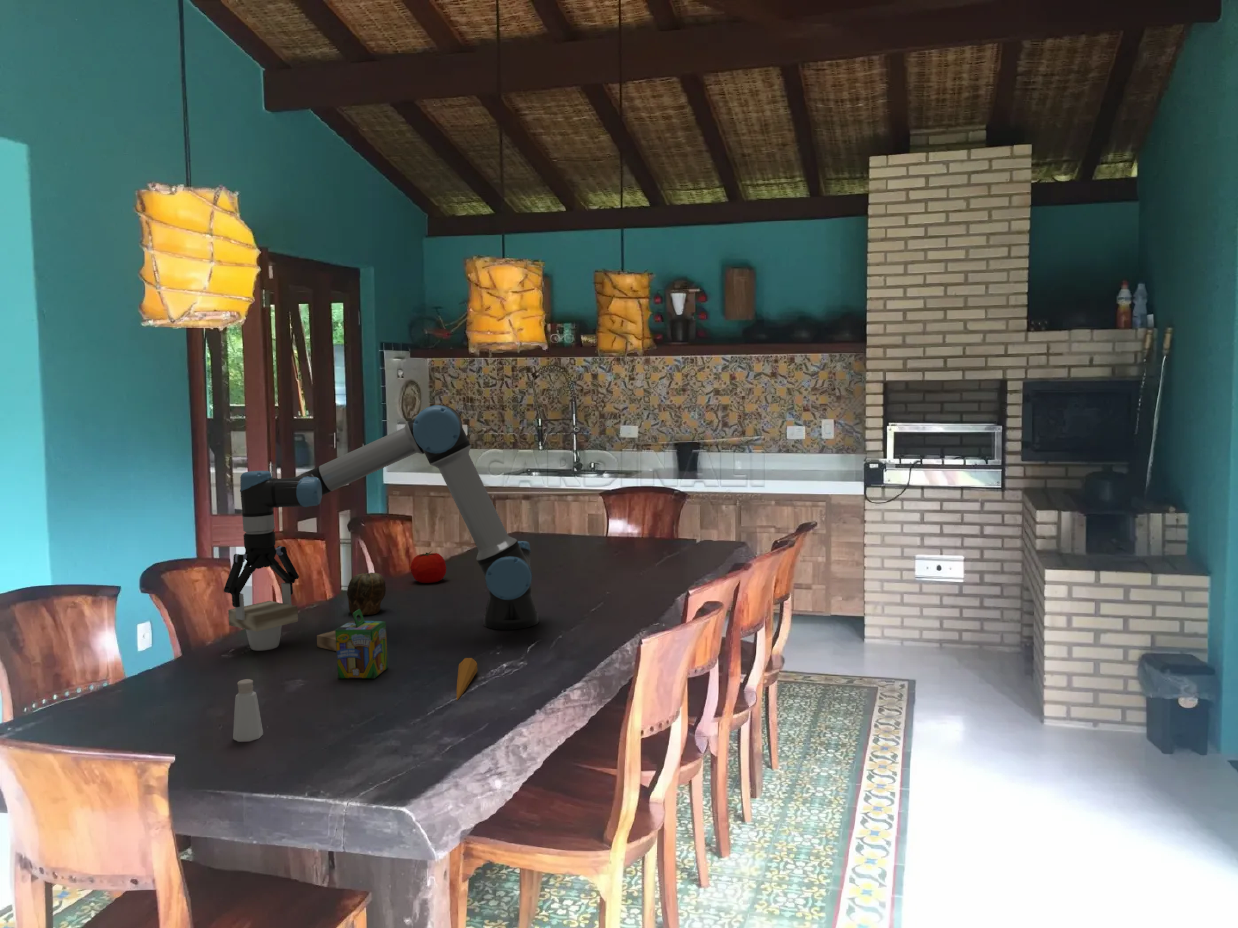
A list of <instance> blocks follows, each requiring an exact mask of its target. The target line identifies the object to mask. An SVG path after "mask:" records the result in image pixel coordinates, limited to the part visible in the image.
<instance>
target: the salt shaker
mask: <svg viewBox="0 0 1238 928" xmlns="http://www.w3.org/2000/svg"><path fill="white" fill-rule="evenodd" d="M236 684H237V690H238V693H237V694H236V695H235V699H234V715H233V716H234V717H233V732H232V733H233V735H232V736H233V737H232V739H233V740H234V741H236V742H238V743H240V742H241V743H243V742H253V741H255V740H259V739H261V737H262V736H263V735H264V730H263V725H262V719H261V713H260V706H259V700H258V695H257V692H256V691H254V685H253V684H254V680H253V679H250V678H246V679H241V680H239V681H238V682H237V683H236Z"/></svg>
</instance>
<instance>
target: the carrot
mask: <svg viewBox="0 0 1238 928" xmlns="http://www.w3.org/2000/svg"><path fill="white" fill-rule="evenodd" d="M457 669H458V671H457V681H456V701H458V700H459V699H460V698H461V697H462V696H463V694H464V693H465V692H466V690H467V688H468V686H469V685H470V683H471V682H472V681H473V679H474V677H475V676H476V674H477V673H478V663H477V661H476V660H475V659H474V658H473V657H465V658H463V660H462V661H461V662H459V664H458V668H457Z"/></svg>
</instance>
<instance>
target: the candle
mask: <svg viewBox="0 0 1238 928" xmlns="http://www.w3.org/2000/svg"><path fill="white" fill-rule="evenodd" d="M282 626H283V625H282ZM282 626H278V627H274V628H270V629H266V630H262V631H258V632H256V631H252V630H247V629H245V632H246V636H247V640H248V644H249V647H250V649H251V650H253V651H258V652H259V651H269V650H273V649H276V648H278V647H279V645H280V639H281V633H282Z"/></svg>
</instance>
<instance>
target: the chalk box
mask: <svg viewBox="0 0 1238 928" xmlns="http://www.w3.org/2000/svg"><path fill="white" fill-rule="evenodd" d="M357 615H359V616H357ZM352 617H353V620H352V621H351V620H350V621H348V622H346V623H344V624H342V625H341V626H339V627H337V628H336V629H335V630H334V631H335V635H336V651H335V653H336V667H337V679H338V680H339V679H376V678H377V677H378V676H380V675H381V674H383V672H385V671H386V670H387V669H388V668H389V666H388V663H389V662H388V645H387V644H388V642H387V640H388V639H387V622H386V621H383V620H382V621H381V620H365V619H364V615H362V612H361V610H360V609H358V610H357V611H355V612H354V613H353V614H352ZM357 617H359V618H360V619H359V620H358V618H357Z"/></svg>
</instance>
